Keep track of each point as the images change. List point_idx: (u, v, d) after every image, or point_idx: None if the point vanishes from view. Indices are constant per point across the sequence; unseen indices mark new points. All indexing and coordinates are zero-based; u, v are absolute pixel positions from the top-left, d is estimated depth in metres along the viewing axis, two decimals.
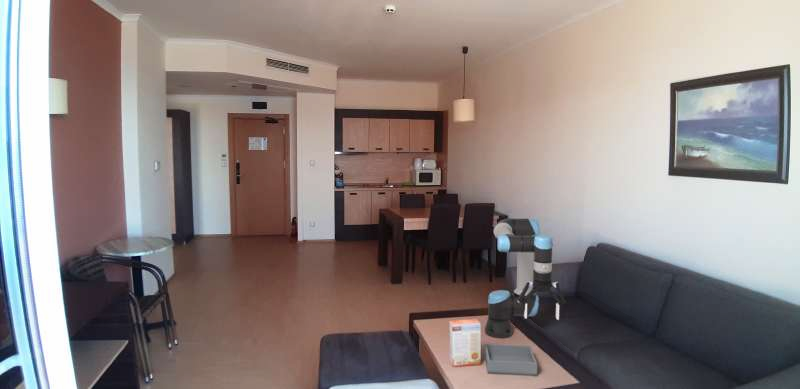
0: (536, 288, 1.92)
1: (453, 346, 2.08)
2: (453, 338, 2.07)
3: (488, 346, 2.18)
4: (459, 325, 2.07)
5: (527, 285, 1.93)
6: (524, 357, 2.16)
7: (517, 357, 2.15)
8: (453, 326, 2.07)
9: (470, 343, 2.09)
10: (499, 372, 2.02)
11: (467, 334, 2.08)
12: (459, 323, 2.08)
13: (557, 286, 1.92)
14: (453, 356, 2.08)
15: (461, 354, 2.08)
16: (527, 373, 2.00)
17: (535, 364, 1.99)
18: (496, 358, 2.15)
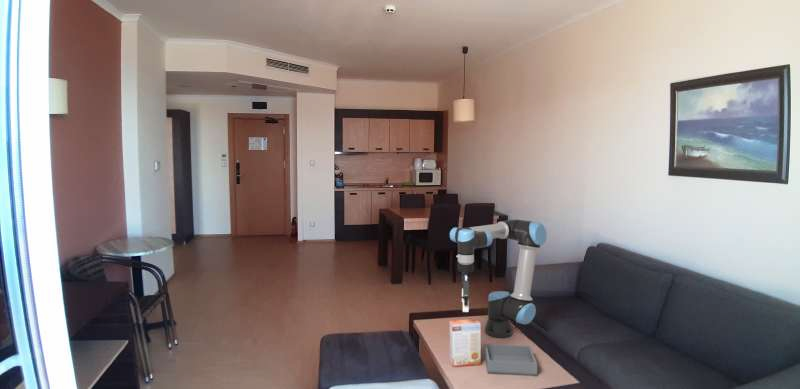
0: None
1: (453, 346, 2.08)
2: (453, 338, 2.07)
3: (488, 346, 2.18)
4: (459, 325, 2.07)
5: (462, 272, 2.14)
6: (524, 357, 2.16)
7: (517, 357, 2.15)
8: (453, 326, 2.07)
9: (470, 343, 2.09)
10: (499, 372, 2.02)
11: (467, 334, 2.08)
12: (459, 323, 2.08)
13: (463, 279, 2.02)
14: (453, 356, 2.08)
15: (461, 354, 2.08)
16: (527, 373, 2.00)
17: (535, 364, 1.99)
18: (496, 358, 2.15)
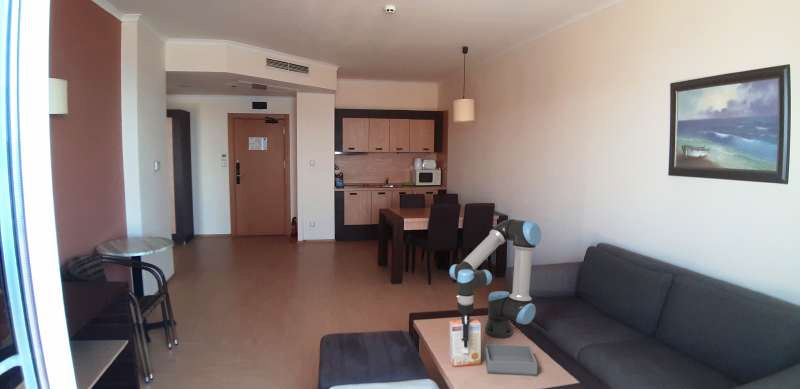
0: None
1: (453, 346, 2.08)
2: (453, 338, 2.07)
3: (488, 346, 2.18)
4: (459, 325, 2.07)
5: None
6: (524, 357, 2.16)
7: (517, 357, 2.15)
8: (453, 326, 2.07)
9: (470, 343, 2.09)
10: (499, 372, 2.02)
11: None
12: (459, 323, 2.08)
13: (463, 322, 2.04)
14: (453, 356, 2.08)
15: (461, 354, 2.08)
16: (527, 373, 2.00)
17: (535, 364, 1.99)
18: (496, 358, 2.15)
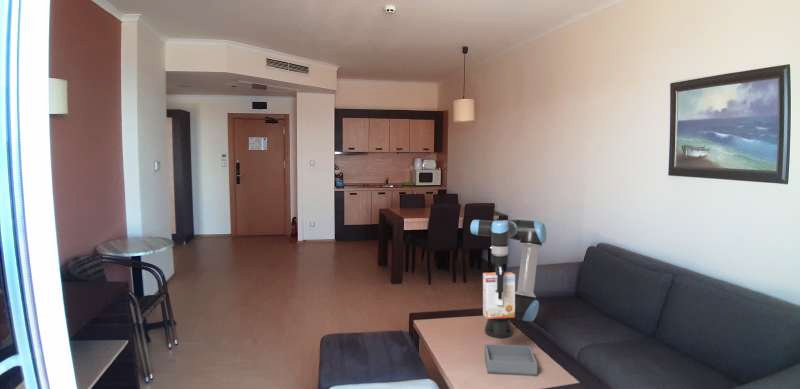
0: None
1: (487, 298, 2.04)
2: (486, 290, 2.03)
3: (488, 346, 2.18)
4: (493, 276, 2.03)
5: None
6: (524, 357, 2.16)
7: (517, 357, 2.15)
8: (487, 277, 2.03)
9: (504, 295, 2.04)
10: (499, 372, 2.02)
11: None
12: (493, 274, 2.04)
13: (497, 273, 2.00)
14: (487, 308, 2.04)
15: (495, 306, 2.05)
16: (527, 373, 2.00)
17: (535, 364, 1.99)
18: (496, 358, 2.15)
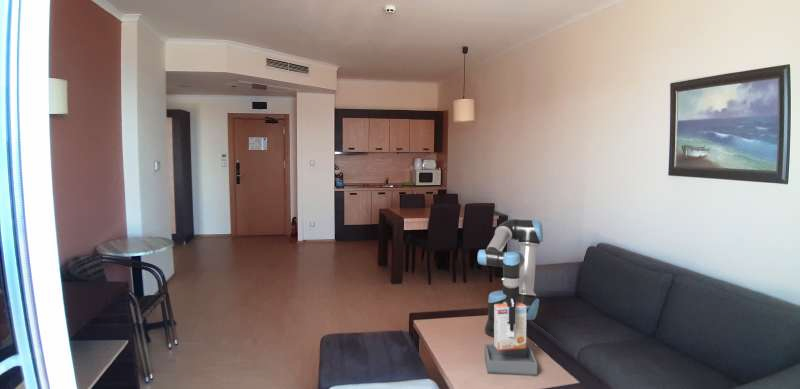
0: (506, 300, 2.09)
1: (499, 329, 2.04)
2: (498, 321, 2.04)
3: (488, 346, 2.18)
4: (505, 308, 2.04)
5: (506, 296, 2.13)
6: (524, 357, 2.16)
7: (517, 357, 2.15)
8: (499, 309, 2.04)
9: (516, 327, 2.05)
10: (499, 372, 2.02)
11: None
12: (505, 306, 2.05)
13: (509, 305, 2.01)
14: (498, 340, 2.05)
15: (507, 337, 2.05)
16: (527, 373, 2.00)
17: (535, 364, 1.99)
18: (496, 358, 2.15)
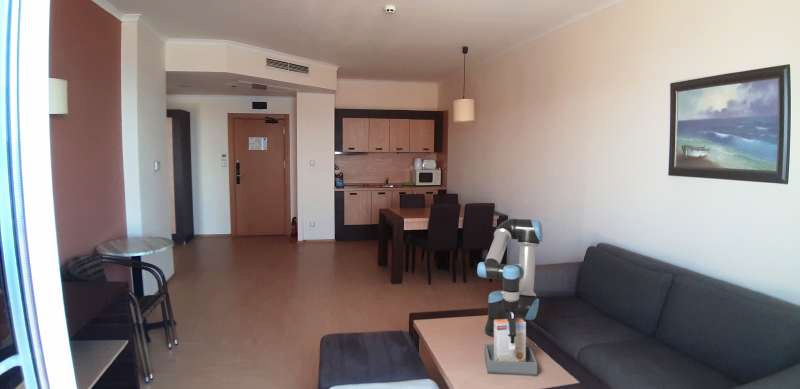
0: None
1: (498, 345, 2.06)
2: (497, 337, 2.05)
3: (488, 346, 2.18)
4: (504, 324, 2.05)
5: None
6: None
7: None
8: (498, 325, 2.05)
9: (515, 343, 2.06)
10: (499, 372, 2.02)
11: None
12: (504, 322, 2.06)
13: (509, 317, 2.01)
14: (498, 355, 2.06)
15: (506, 353, 2.06)
16: (527, 373, 2.00)
17: (535, 364, 1.99)
18: None
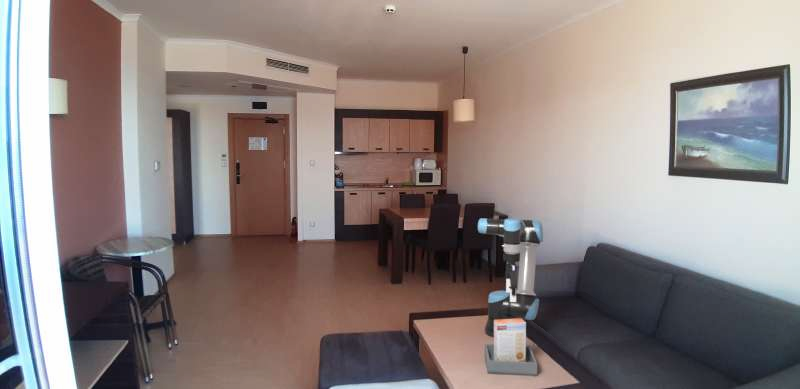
0: None
1: (498, 345, 2.06)
2: (497, 337, 2.05)
3: (488, 346, 2.18)
4: (504, 324, 2.05)
5: (507, 262, 2.12)
6: None
7: None
8: (498, 325, 2.05)
9: (515, 343, 2.06)
10: (499, 372, 2.02)
11: (512, 333, 2.06)
12: (504, 322, 2.06)
13: (510, 269, 1.99)
14: (498, 355, 2.06)
15: (506, 353, 2.06)
16: (527, 373, 2.00)
17: (535, 364, 1.99)
18: None
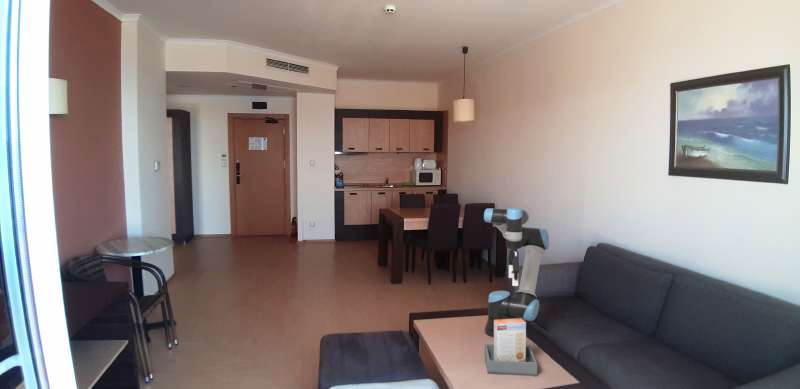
0: (509, 253, 2.21)
1: (498, 345, 2.06)
2: (497, 337, 2.05)
3: (488, 346, 2.18)
4: (504, 324, 2.05)
5: (509, 249, 2.25)
6: None
7: None
8: (498, 325, 2.05)
9: (515, 343, 2.06)
10: (499, 372, 2.02)
11: (512, 333, 2.06)
12: (504, 322, 2.06)
13: (513, 255, 2.12)
14: (498, 355, 2.06)
15: (506, 353, 2.06)
16: (527, 373, 2.00)
17: (535, 364, 1.99)
18: None
